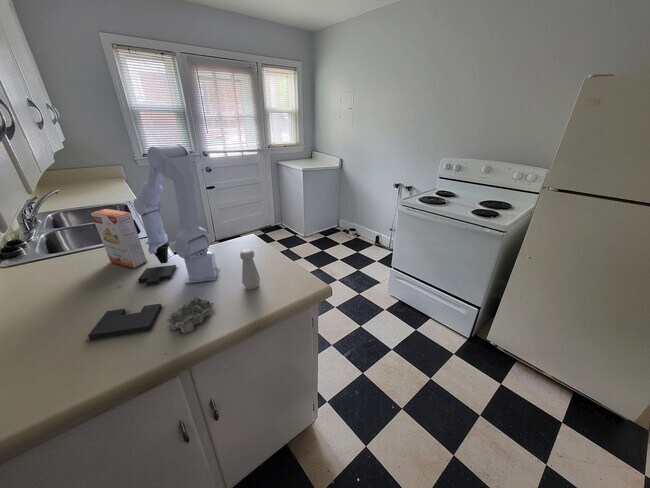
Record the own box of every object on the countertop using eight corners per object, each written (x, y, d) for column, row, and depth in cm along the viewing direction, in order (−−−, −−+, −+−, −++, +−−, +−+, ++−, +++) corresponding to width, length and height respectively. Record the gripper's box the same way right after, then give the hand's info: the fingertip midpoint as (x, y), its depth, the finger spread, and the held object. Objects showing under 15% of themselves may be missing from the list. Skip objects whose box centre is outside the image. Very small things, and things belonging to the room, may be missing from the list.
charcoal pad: (162, 307, 80) (160, 303, 80) (150, 330, 71) (149, 325, 71) (108, 315, 77) (107, 310, 77) (89, 339, 68) (87, 335, 68)
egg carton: (186, 335, 69) (182, 323, 68) (166, 327, 72) (162, 315, 70) (217, 311, 78) (214, 299, 76) (198, 305, 81) (195, 293, 79)
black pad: (176, 268, 102) (175, 264, 101) (168, 283, 92) (167, 279, 92) (147, 271, 100) (146, 268, 99) (136, 287, 90) (134, 283, 90)
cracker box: (109, 263, 107) (89, 212, 98) (124, 256, 112) (107, 207, 103) (132, 269, 102) (114, 216, 93) (147, 262, 107) (131, 211, 98)
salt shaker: (264, 283, 91) (260, 249, 86) (253, 292, 86) (248, 256, 81) (250, 280, 93) (245, 246, 88) (239, 288, 89) (233, 253, 83)
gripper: (149, 224, 104) (159, 255, 109) (134, 238, 91) (146, 273, 97) (169, 222, 105) (177, 253, 111) (157, 236, 92) (167, 270, 98)
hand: (164, 262), depth 104 cm, fingers closed
